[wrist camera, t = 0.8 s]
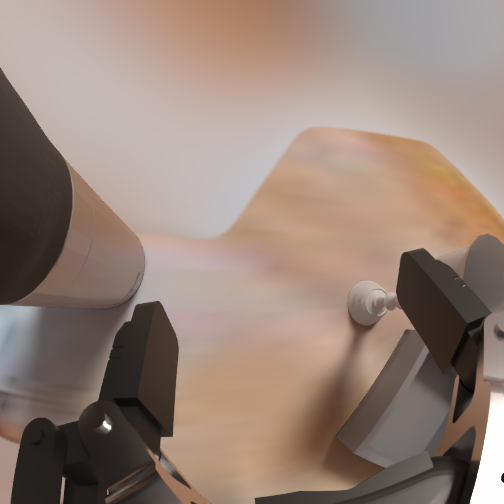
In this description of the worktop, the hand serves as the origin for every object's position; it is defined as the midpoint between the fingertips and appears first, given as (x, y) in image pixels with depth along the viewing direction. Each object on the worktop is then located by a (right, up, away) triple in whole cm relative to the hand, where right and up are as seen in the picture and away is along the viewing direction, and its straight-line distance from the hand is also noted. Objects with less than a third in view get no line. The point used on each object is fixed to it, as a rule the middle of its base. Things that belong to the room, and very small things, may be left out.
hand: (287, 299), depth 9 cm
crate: (+19, -18, +20) cm, 33 cm away
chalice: (+12, -4, +22) cm, 26 cm away
